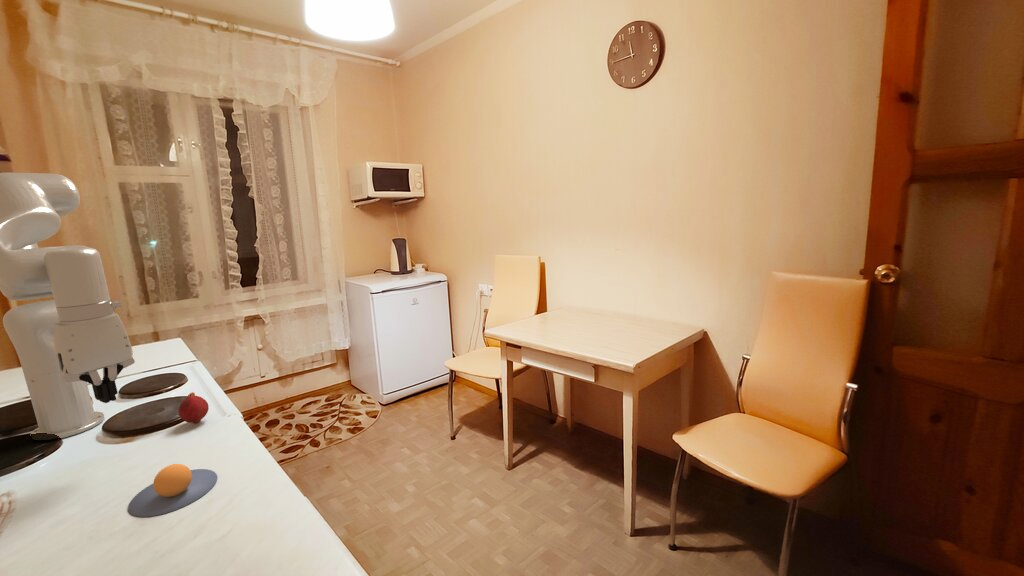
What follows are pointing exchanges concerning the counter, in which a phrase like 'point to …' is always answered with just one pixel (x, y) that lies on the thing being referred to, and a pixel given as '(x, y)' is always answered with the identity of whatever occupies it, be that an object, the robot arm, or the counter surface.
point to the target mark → (155, 504)
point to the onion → (193, 409)
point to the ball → (172, 480)
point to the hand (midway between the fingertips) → (107, 400)
